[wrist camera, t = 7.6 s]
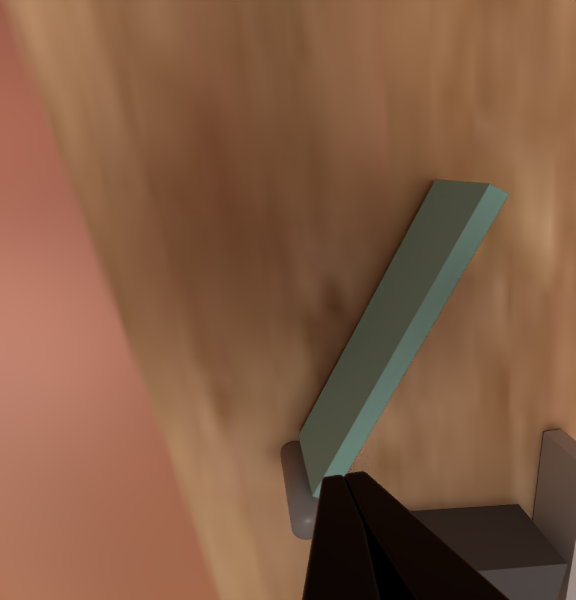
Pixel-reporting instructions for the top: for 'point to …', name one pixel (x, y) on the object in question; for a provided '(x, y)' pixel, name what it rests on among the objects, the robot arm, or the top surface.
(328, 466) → the bar
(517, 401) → the top surface
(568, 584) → the frame
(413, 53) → the top surface
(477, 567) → the block
